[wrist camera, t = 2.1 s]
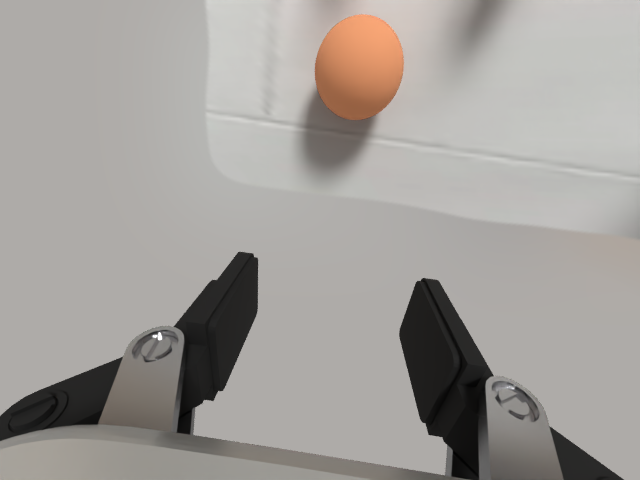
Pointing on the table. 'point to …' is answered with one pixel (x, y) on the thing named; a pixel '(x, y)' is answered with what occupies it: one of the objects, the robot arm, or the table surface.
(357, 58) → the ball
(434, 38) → the table surface
